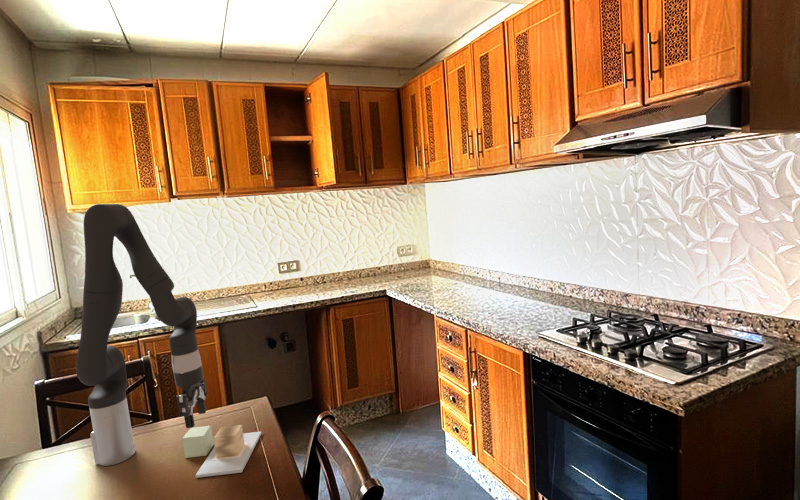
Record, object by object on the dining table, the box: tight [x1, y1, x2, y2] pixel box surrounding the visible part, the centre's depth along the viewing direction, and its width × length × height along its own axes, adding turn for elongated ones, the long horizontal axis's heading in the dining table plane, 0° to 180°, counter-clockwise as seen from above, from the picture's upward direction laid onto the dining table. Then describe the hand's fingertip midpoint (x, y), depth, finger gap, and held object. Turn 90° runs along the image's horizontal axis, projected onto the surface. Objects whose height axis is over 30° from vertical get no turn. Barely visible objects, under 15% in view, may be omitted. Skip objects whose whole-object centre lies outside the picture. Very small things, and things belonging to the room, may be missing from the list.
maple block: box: [213, 424, 244, 458], centre depth 127 cm, size 6×6×6 cm
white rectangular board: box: [195, 431, 262, 478], centre depth 128 cm, size 12×20×1 cm, turn 3°
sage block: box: [182, 425, 215, 459], centre depth 131 cm, size 6×6×6 cm
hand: (196, 420), depth 130 cm, fingers open, 8 cm apart
